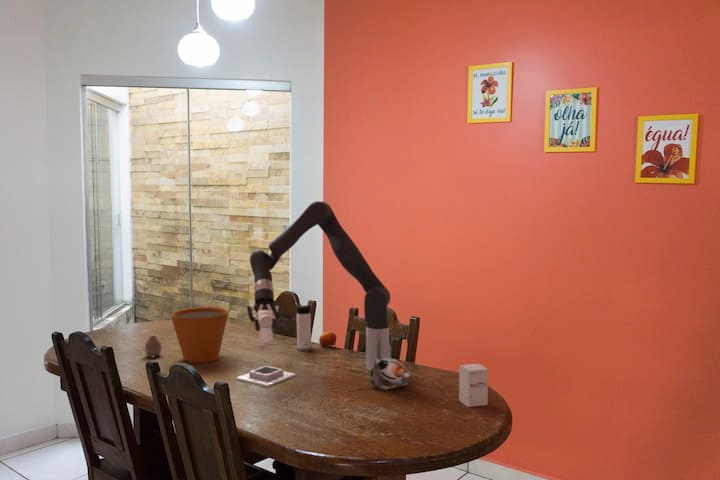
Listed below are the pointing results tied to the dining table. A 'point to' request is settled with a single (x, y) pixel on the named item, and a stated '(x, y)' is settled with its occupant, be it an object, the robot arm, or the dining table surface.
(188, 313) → the flower pot
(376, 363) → the lucky cat figurine
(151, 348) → the reddish brown teardrop
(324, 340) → the fruit
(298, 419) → the dining table surface
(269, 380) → the plate
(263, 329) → the elbow
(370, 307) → the robot arm
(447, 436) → the dining table surface
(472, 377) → the supplement box
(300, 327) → the travel mug
